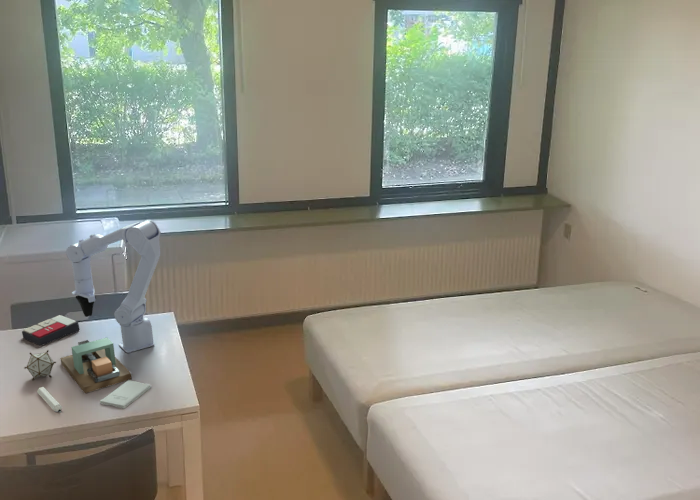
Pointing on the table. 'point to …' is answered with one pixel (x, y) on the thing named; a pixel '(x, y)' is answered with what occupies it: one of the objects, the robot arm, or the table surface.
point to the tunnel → (90, 348)
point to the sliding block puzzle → (50, 330)
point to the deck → (86, 381)
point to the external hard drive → (125, 394)
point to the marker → (49, 399)
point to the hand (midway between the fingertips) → (88, 315)
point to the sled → (90, 370)
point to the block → (102, 366)
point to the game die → (40, 365)
